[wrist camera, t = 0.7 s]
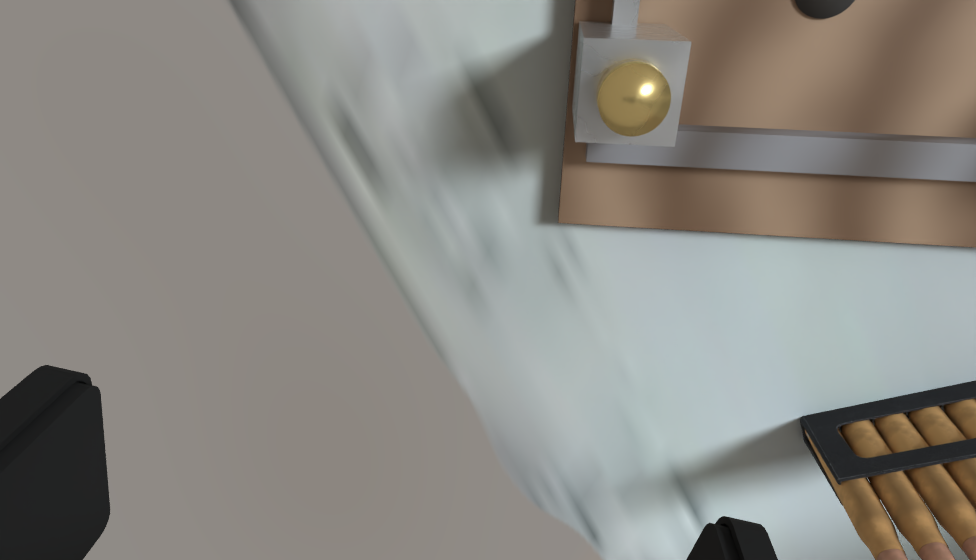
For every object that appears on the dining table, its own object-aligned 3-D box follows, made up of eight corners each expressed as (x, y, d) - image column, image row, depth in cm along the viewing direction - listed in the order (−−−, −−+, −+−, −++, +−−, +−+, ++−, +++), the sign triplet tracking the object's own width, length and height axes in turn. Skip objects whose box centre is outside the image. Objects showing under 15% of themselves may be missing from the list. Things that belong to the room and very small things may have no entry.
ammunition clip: (803, 440, 38) (900, 633, 27) (798, 416, 37) (895, 604, 26) (1009, 400, 35) (1205, 596, 24) (1008, 373, 34) (1210, 563, 24)
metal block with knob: (676, -57, 25) (715, -60, 19) (653, 110, 28) (680, 156, 22) (586, -59, 26) (594, -63, 19) (572, 107, 29) (575, 151, 22)
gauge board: (1350, -123, 24) (1715, -158, 16) (1147, 248, 30) (1338, 343, 23) (585, -135, 26) (596, -170, 18) (558, 214, 33) (557, 291, 25)
